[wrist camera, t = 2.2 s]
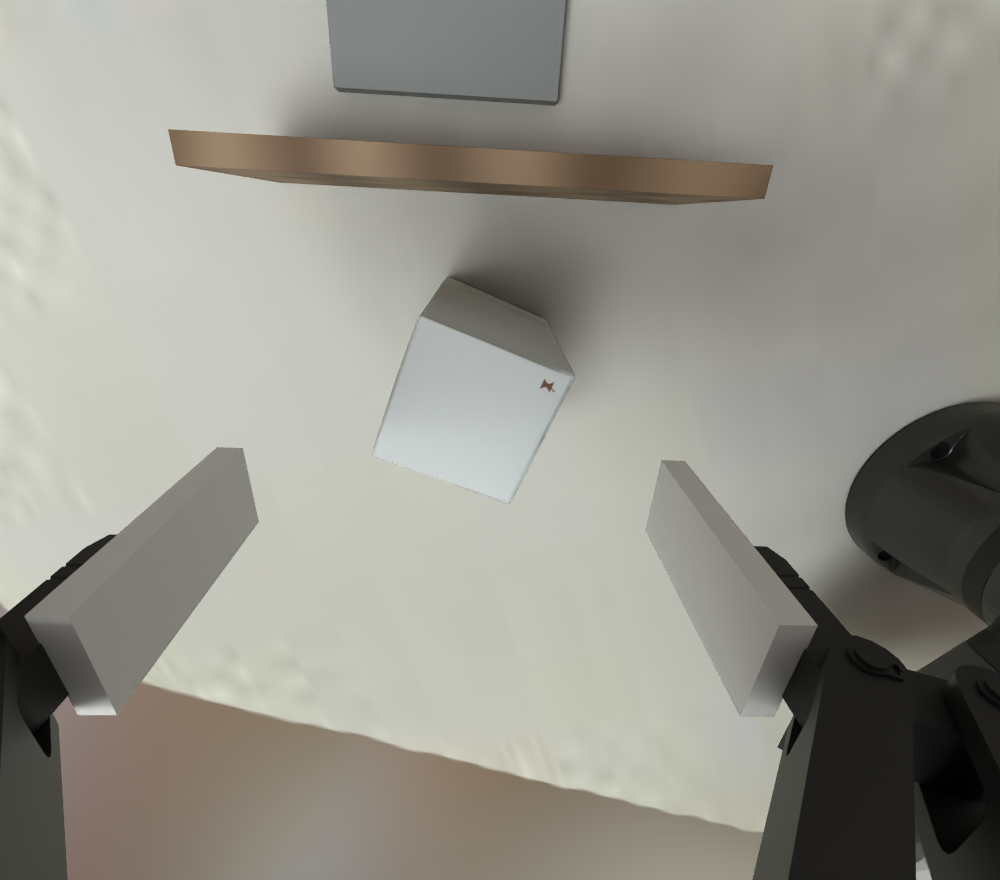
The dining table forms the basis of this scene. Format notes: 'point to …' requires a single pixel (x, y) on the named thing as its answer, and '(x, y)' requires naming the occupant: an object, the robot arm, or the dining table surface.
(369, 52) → the mat
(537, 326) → the supplement box
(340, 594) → the dining table surface
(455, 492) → the dining table surface
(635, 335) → the dining table surface
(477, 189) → the walnut screen
